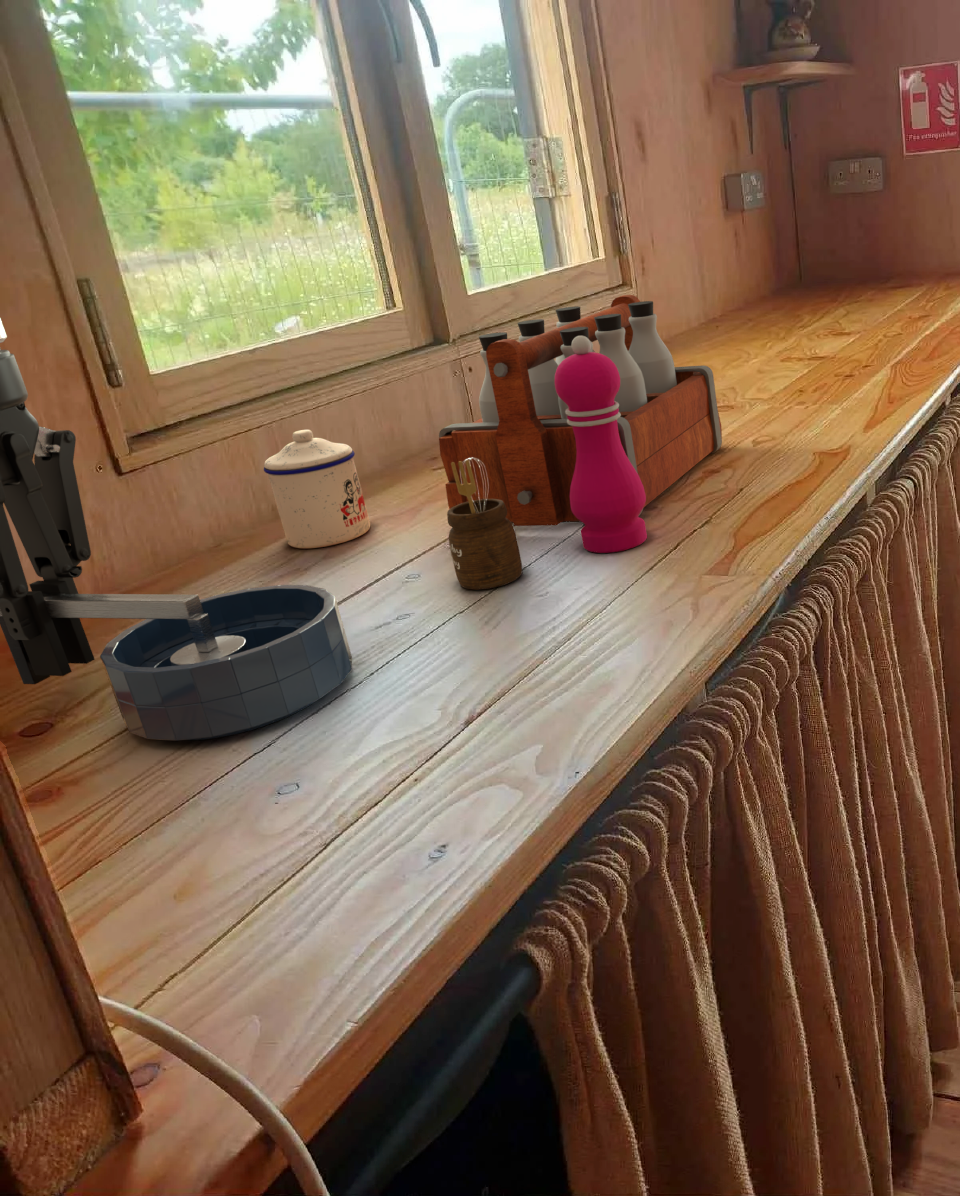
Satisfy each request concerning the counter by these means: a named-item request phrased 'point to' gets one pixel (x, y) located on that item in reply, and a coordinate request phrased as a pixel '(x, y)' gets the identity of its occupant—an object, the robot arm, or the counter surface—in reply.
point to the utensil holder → (481, 538)
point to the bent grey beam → (134, 609)
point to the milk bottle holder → (539, 423)
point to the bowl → (230, 665)
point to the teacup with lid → (317, 492)
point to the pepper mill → (599, 453)
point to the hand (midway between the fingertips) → (65, 666)
